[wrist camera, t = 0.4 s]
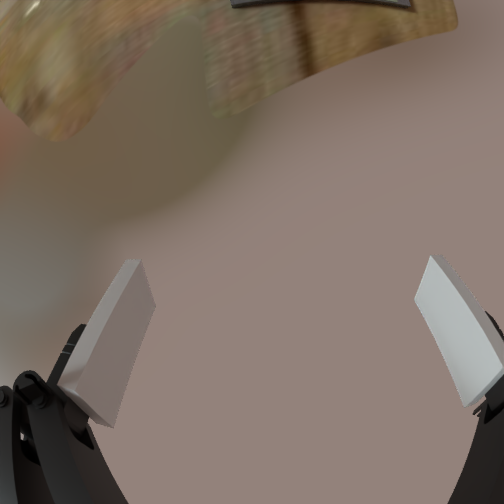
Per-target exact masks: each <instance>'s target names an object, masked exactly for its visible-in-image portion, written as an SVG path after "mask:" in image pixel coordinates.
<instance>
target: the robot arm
mask: <svg viewBox="0 0 504 504" xmlns="http://www.w3.org/2000/svg"><path fill="white" fill-rule="evenodd" d="M414 300H415V302H416V304H417V306H418V308H419V310H420V311H421V313H422V315H423V317H424V319H425V321H426V323H427V325H428V327H429V328H430V330H431V333H432V335H433V337H434V338H435V340H436V342H437V345H438V347H439V349H440V351H441V353H442V355H443V358H444V360H445V362H446V364H447V367H448V369H449V371H450V373H451V376H452V378H453V381H454V383H455V385H456V388H457V390H458V393H459V396H460V398H461V401H462V403H463V406H464V408H466V407H468V406H470V405H473V404H475V403H477V402H478V401H479V400H480V399H481V398H482V397H483V396H484V395H485V397H486V400H485V401H484V402H483V403H482V404H481V405H480V406H479V407H478V408H476V409H475V410H474V412H473V415H475V414H476V413H477V412H478V411H480V410H481V412H480V413H479V414H478V415H477V417H479V421H478V425H477V429H476V432H475V435H474V439H473V442H472V445H471V448H470V451H469V454H468V457H467V460H466V462H465V465H464V468H463V471H462V473H461V475H460V477H459V480H458V482H457V485H456V487H455V489H454V491H453V493H452V495H451V497H450V500H449V502H448V504H504V336H503V333H502V331H501V329H499V326H498V325H497V323H496V321H495V320H494V319H493V317H492V316H490V315H489V314H488V313H487V312H486V311H484V310H483V309H482V307H481V306H480V304H479V302H478V301H477V300H476V298H475V297H474V295H473V294H472V293H471V291H470V290H469V288H468V287H467V286H466V284H465V283H464V282H463V280H462V279H461V278H460V276H459V275H458V274H457V273H456V271H455V270H454V269H453V268H452V266H451V265H450V264H449V263H448V261H447V260H446V259H445V258H444V257H443V255H430V259H429V261H428V264H427V267H426V270H425V272H424V275H423V278H422V281H421V283H420V286H419V288H418V291H417V293H416V296H415V298H414ZM155 307H156V305H155V302H154V299H153V296H152V293H151V290H150V287H149V284H148V280H147V277H146V274H145V271H144V267H143V264H142V260H126V261H125V263H124V264H123V266H122V267H121V269H120V270H119V272H118V273H117V275H116V277H115V278H114V280H113V282H112V283H111V285H110V286H109V288H108V290H107V291H106V293H105V294H104V296H103V298H102V299H101V301H100V303H99V305H98V306H97V308H96V310H95V311H94V313H93V315H92V317H91V319H90V320H89V322H88V324H87V325H85V324H81V325H79V327H77V328H76V329H75V330H74V331H73V332H72V334H71V336H70V337H69V339H68V341H67V345H65V347H64V348H63V350H62V353H61V354H60V356H59V358H58V360H57V362H56V364H55V366H54V368H53V370H52V372H51V374H50V376H49V378H48V380H47V382H46V383H45V381H44V380H43V379H42V378H41V377H40V376H39V375H38V374H37V373H36V372H35V371H31V370H29V371H25V372H23V373H21V374H20V375H19V376H18V377H17V379H16V380H15V382H14V385H13V390H12V389H11V388H9V387H8V386H1V387H0V504H128V502H127V500H126V499H125V497H124V495H123V494H122V492H121V490H120V488H119V487H118V485H117V483H116V481H115V479H114V478H113V476H112V474H111V472H110V470H109V468H108V466H107V464H106V462H105V460H104V457H103V455H102V453H101V452H100V449H99V447H98V444H97V442H96V440H95V437H94V435H93V432H92V430H91V427H90V426H89V424H88V423H87V422H88V419H89V417H90V418H91V419H92V420H93V421H95V422H96V423H98V424H101V425H104V426H107V427H111V428H114V425H115V421H116V418H117V415H118V411H119V408H120V405H121V401H122V399H123V395H124V392H125V389H126V386H127V383H128V380H129V377H130V374H131V371H132V368H133V365H134V363H135V360H136V357H137V354H138V351H139V349H140V346H141V343H142V341H143V338H144V335H145V333H146V330H147V327H148V325H149V322H150V319H151V317H152V314H153V312H154V309H155ZM20 432H21V433H22V434H24V439H23V440H21V435H20Z"/></svg>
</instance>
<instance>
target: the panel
mask: <svg viewBox="0 0 504 504" xmlns="http://www.w3.org/2000/svg"><path fill="white" fill-rule="evenodd" d="M230 1H231V5H232V8H237V7H242V6H249V5H256V4H263V3H272V2H283V1H300V0H230ZM339 1H356V2H366V3H375V4H383V5H389V6H396V7H401V8H408V7H411V5H410V2H409V0H339Z"/></svg>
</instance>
